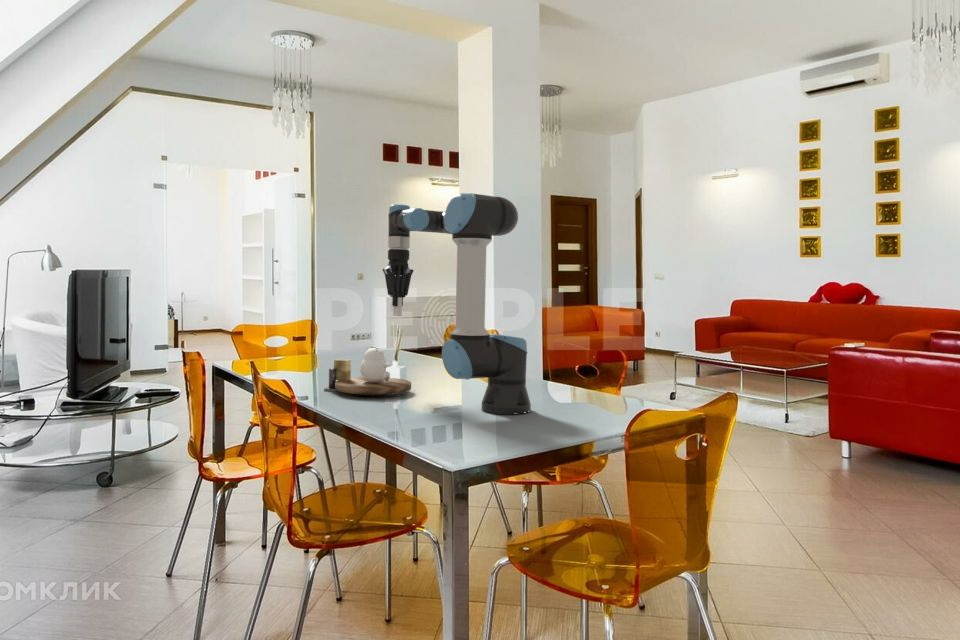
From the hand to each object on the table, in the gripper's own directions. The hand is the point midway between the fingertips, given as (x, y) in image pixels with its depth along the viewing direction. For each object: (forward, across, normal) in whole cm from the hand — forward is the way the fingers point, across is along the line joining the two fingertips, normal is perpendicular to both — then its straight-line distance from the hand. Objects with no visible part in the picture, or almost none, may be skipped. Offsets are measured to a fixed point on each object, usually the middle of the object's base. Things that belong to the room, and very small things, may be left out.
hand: (397, 315), depth 243 cm
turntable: (+25, +11, 0) cm, 27 cm away
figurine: (+23, +11, 0) cm, 26 cm away
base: (+26, +14, -4) cm, 30 cm away
